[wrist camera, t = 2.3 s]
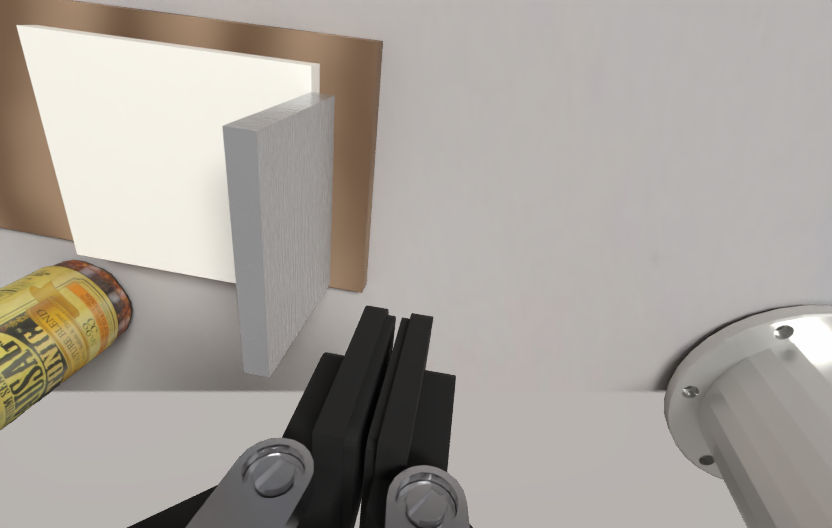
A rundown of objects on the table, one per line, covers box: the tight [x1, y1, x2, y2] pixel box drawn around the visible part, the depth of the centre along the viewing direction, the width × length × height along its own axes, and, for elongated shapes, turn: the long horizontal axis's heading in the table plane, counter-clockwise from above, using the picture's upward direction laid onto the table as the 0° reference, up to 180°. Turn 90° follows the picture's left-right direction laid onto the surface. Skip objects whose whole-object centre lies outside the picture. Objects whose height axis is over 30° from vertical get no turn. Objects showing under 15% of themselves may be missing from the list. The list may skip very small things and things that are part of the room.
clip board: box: [0, 0, 383, 293], centre depth 25 cm, size 26×13×1 cm, turn 84°
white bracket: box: [16, 25, 335, 378], centre depth 20 cm, size 14×11×10 cm
